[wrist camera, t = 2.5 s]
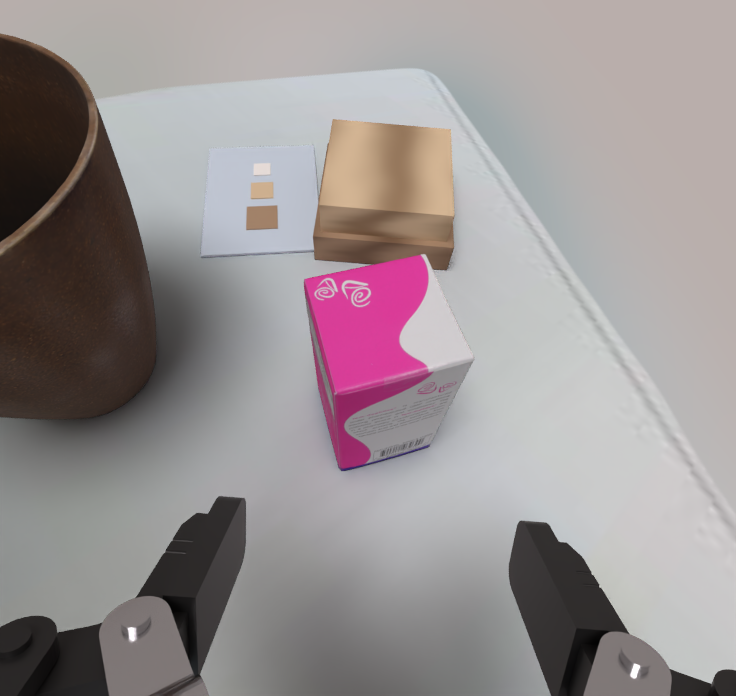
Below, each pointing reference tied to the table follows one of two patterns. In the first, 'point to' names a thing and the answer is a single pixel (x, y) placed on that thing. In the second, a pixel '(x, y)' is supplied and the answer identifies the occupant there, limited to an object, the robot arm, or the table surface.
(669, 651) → the table surface
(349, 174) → the base block
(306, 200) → the page
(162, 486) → the table surface
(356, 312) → the supplement box
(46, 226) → the plant pot
